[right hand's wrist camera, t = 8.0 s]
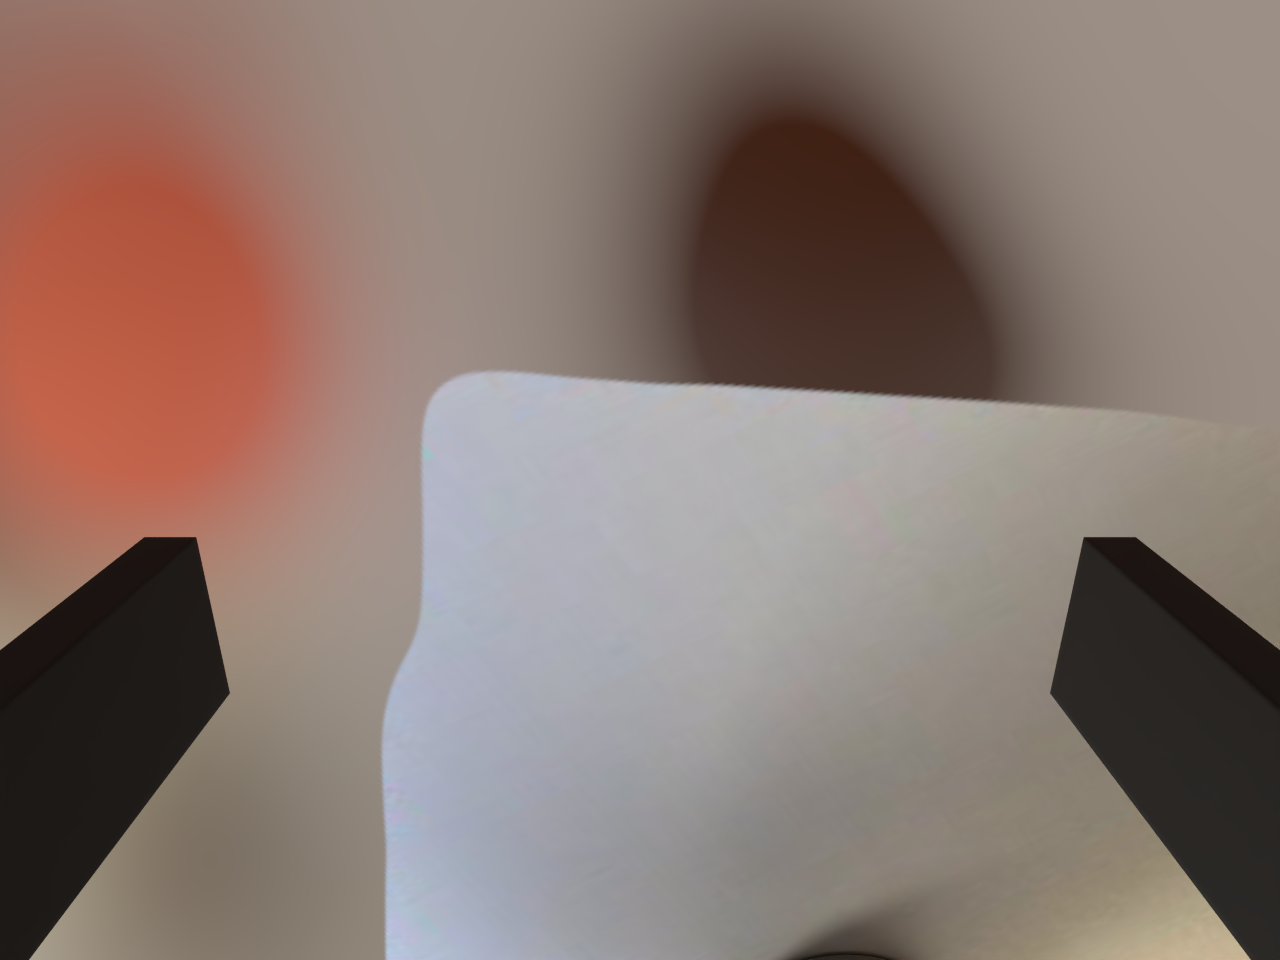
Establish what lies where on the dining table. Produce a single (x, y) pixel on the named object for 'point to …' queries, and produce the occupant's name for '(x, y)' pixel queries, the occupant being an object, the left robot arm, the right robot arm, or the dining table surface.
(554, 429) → the dining table surface
